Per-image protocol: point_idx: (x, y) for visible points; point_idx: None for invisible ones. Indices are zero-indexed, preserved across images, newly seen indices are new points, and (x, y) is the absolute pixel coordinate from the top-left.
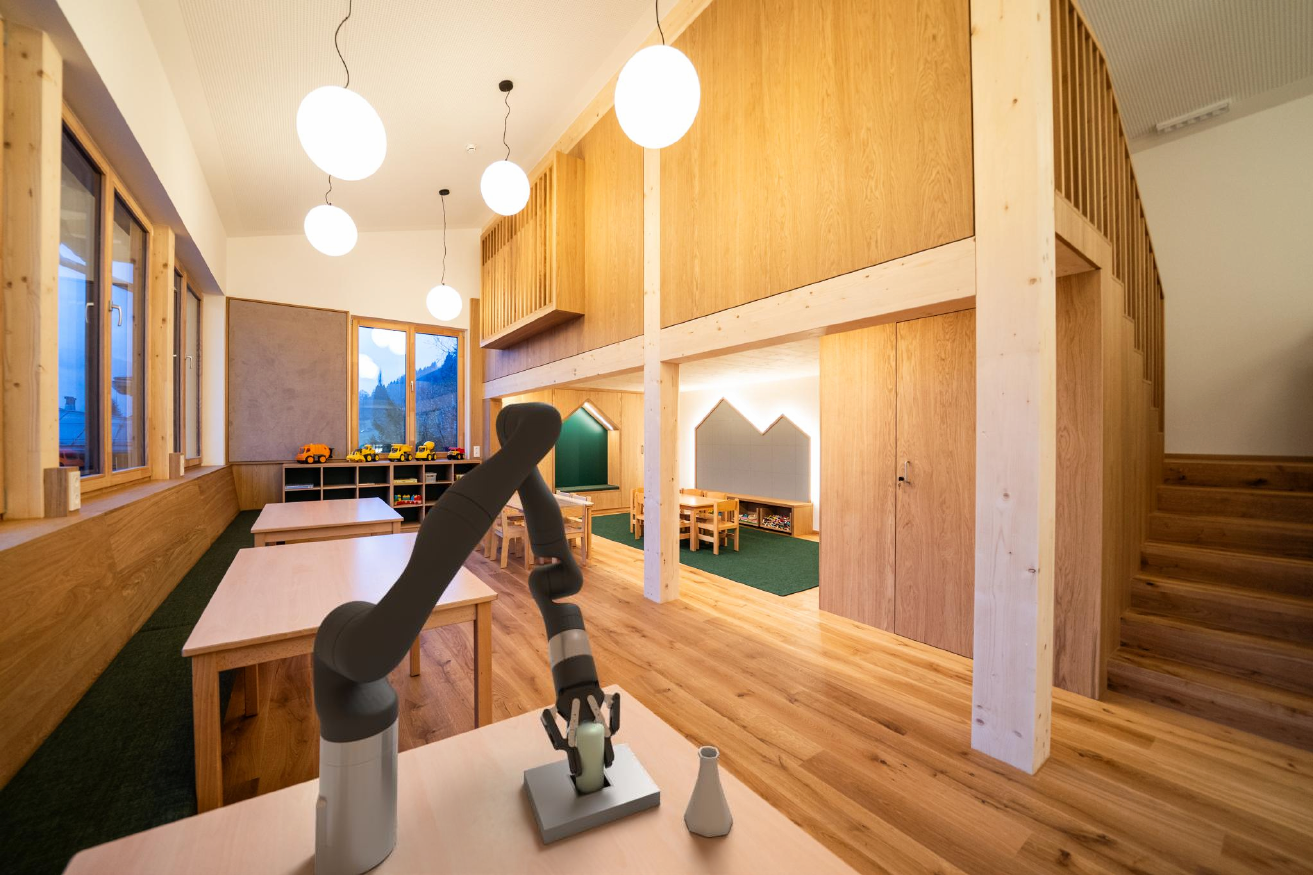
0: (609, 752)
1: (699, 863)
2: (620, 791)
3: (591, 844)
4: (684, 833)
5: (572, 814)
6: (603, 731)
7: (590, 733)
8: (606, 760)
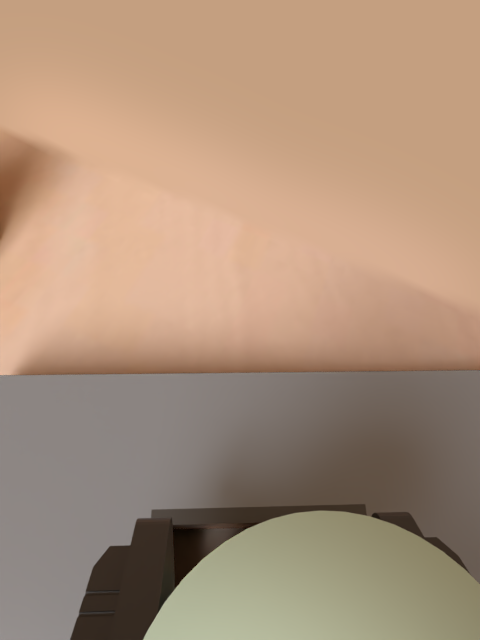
0: (130, 576)
1: (55, 151)
2: (140, 456)
3: (326, 324)
4: (16, 242)
5: (402, 407)
6: (166, 603)
7: (364, 624)
8: (168, 565)
